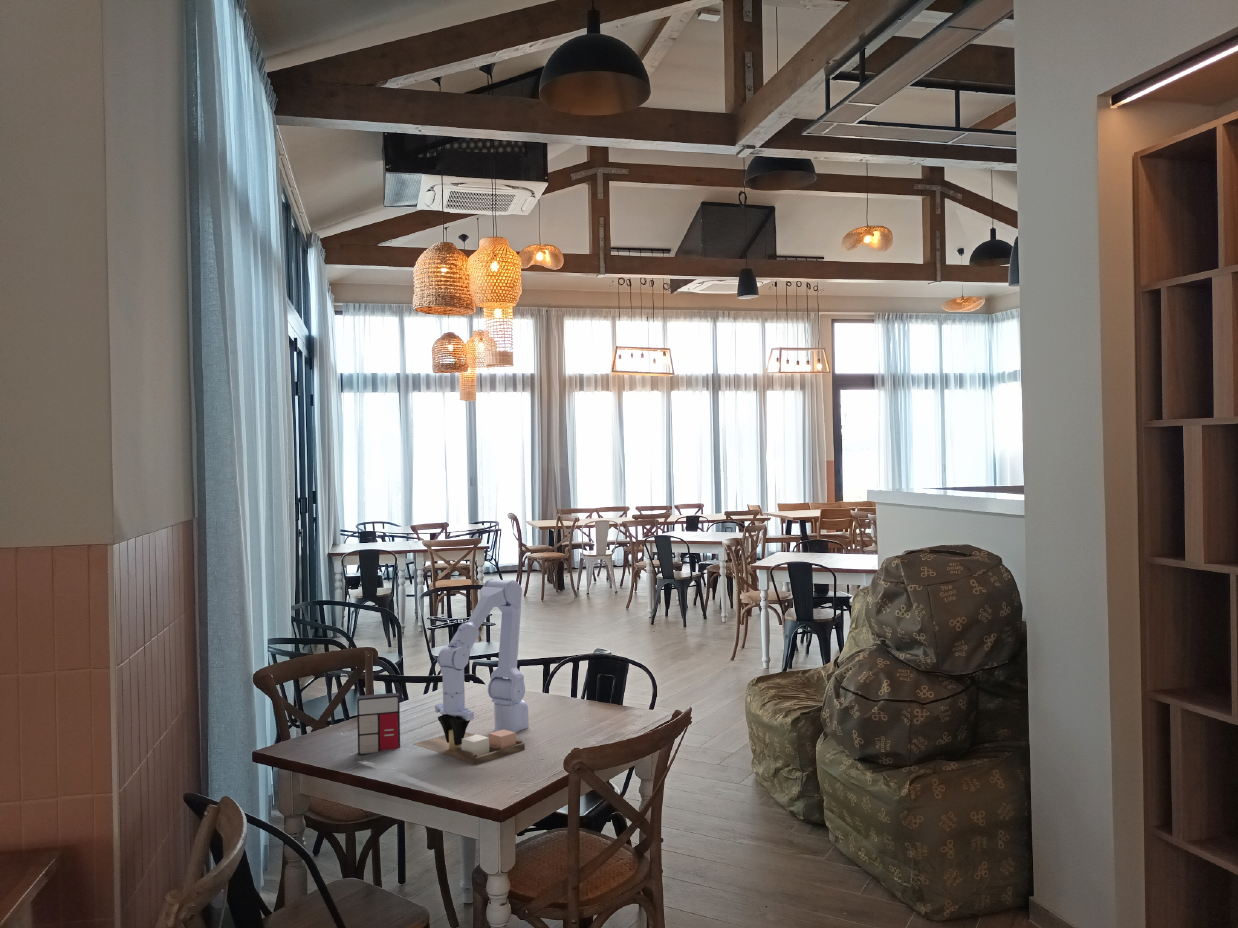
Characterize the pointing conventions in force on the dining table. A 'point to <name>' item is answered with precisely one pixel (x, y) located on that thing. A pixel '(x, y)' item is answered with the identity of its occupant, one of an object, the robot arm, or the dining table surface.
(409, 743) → the dining table surface
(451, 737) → the tethered block
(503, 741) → the untied block
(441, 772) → the dining table surface
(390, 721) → the calculator
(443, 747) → the shelf
